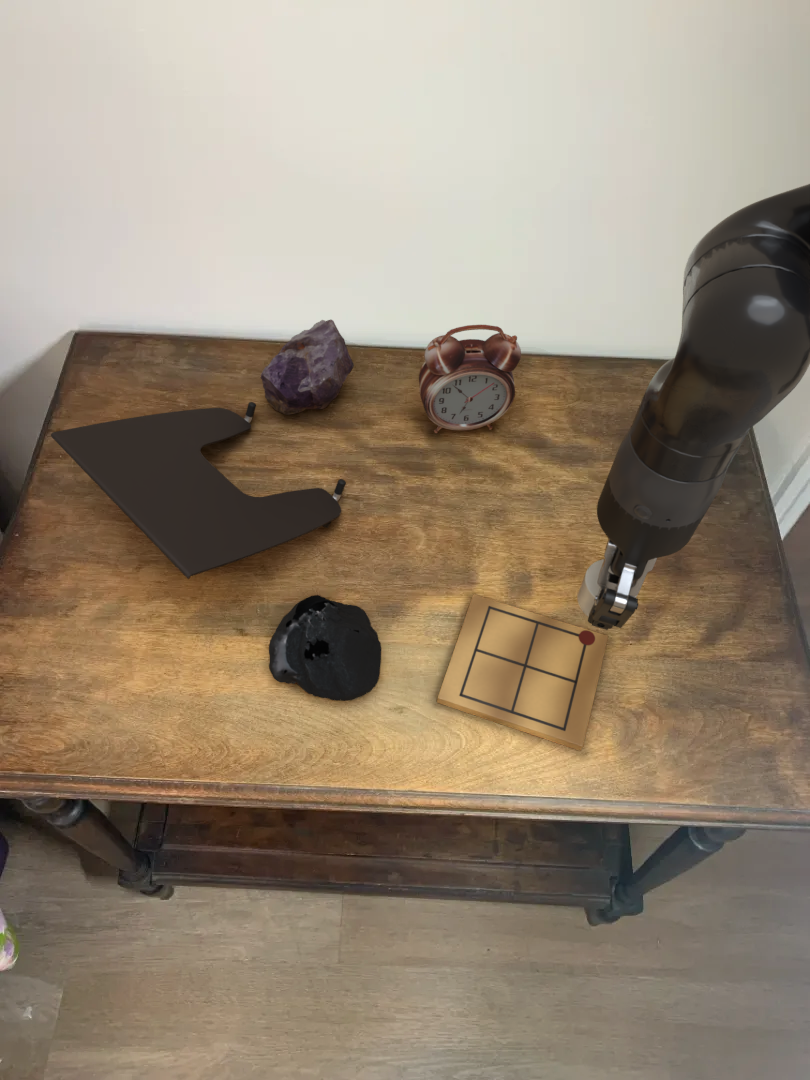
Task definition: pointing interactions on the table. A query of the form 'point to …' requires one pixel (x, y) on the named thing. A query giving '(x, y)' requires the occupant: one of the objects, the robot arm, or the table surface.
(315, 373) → the rock
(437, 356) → the alarm clock
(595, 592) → the stone
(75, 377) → the table surface
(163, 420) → the laptop tray
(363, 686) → the rock
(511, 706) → the board
